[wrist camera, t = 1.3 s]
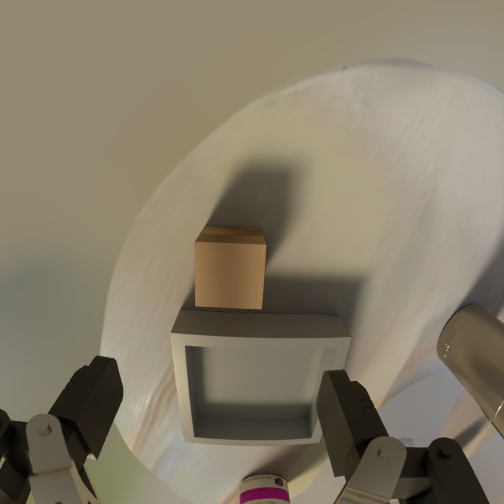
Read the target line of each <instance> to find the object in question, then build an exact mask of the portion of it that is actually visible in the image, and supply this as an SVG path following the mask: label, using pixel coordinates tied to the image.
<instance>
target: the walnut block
mask: <svg viewBox="0 0 504 504" xmlns="http://www.w3.org/2000/svg"><path fill="white" fill-rule="evenodd" d="M265 259H266V242H265V238H264V235H263V231H262V228H255V227H234V226H210V225H205V227H204V228H203V230H202V231H201V233H200V234H199V236H198V237H197V239H196V241H195V306H202V307H220V308H241V309H262V299H263V286H264V272H265Z"/></svg>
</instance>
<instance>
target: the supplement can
mask: <svg viewBox="0 0 504 504" xmlns="http://www.w3.org/2000/svg"><path fill="white" fill-rule="evenodd" d="M239 495H240V504H290V499H289V492H288V484H287V482H286V480H285V479H283V478H282V477H279V476H277V475H272V474H260V475H254V476H250V477H248V478H246V479H245V480H244V481H242V482H241V483H240V485H239Z"/></svg>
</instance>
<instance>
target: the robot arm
mask: <svg viewBox="0 0 504 504" xmlns="http://www.w3.org/2000/svg"><path fill="white" fill-rule="evenodd" d="M437 351H438V356H439V358H440V359H441V360H442V362H443V363H444V364H445V365H446V366H447V367H448V368H449V370H450V371H451V372H452V373H453V374H454V376H455V377H456V378H457V379H458V380H459V382H460V383H461V384H462V385H463V386H464V387H465V389H466V390H467V391H468V392H469V393H470V395H471V396H472V397H473V398H474V400H475V401H476V402H477V403H478V404H479V406H480V407H481V408H482V409H483V411H484V412H485V413H486V414H487V416H488V417H489V418H490V420H491V421H492V422H493V423H494V425H495V426H496V427H497V428H498V430H499V431H500V432H501V434H502V435H503V436H504V323H503V322H501V321H500V320H499V319H498V318H496V317H495V316H493V315H492V314H491V313H489V312H488V311H487V310H485V309H484V308H482V307H481V306H480V305H477V304H471V305H468V306H466V307H464V308H462V309H461V310H460V311H458V312H457V313H456V314H455V315H454V316H453V317H452V318H451V319H450V321H449V322H448V323H447V325H446V326H445V328H444V330H443V332H442V334H441V336H440V339H439V342H438V348H437ZM122 399H123V385H122V381H121V378H120V374H119V370H118V366H117V362H116V360H115V359H114V358H109V357H103V356H96V357H95V358H94V359H93V361H92V362H91V364H90V365H89V366H86V365H85V366H83V367H82V368H80V369H79V370H77V371H76V372H75V373H74V375H73V376H72V378H71V379H70V382H68V384H67V385H66V386H65V389H64V390H63V391H62V393H61V394H60V395H59V397H58V398H57V400H56V402H55V403H54V405H53V406H52V408H51V409H50V411H49V412H48V414H39V415H36V416H34V417H32V418H31V419H30V420H29V421H28V422H21V421H12V420H11V419H10V418H9V416H8V415H7V413H6V412H5V411H4V410H1V409H0V461H1V459H2V457H4V459H5V461H4V463H3V465H2V467H1V469H0V504H26V502H27V499H28V496H29V494H30V491H31V490H32V494H33V498H34V501H35V504H102V503H101V501H100V499H99V497H98V494H97V492H96V490H95V488H94V485H93V483H92V481H91V478H90V476H89V473H88V471H87V468H86V466H85V464H84V463H85V460H86V458H90V459H93V460H97V459H98V457H99V454H100V452H101V449H102V447H103V444H104V442H105V439H106V437H107V435H108V432H109V430H110V428H111V425H112V423H113V420H114V418H115V416H116V414H117V411H118V409H119V407H120V404H121V402H122ZM316 410H317V415H318V418H319V422H320V425H321V429H322V433H323V436H324V440H325V443H326V447H327V451H328V454H329V458H330V461H331V465H332V469H333V473H334V477H338V476H345V479H346V483H345V485H344V486H343V488H342V490H341V491H340V493H339V495H338V496H337V498H336V500H335V501H334V503H333V504H389V502H390V499H398V500H399V503H400V504H489V501H488V499H487V497H486V495H485V493H484V491H483V489H482V487H481V485H480V483H479V481H478V479H477V477H476V475H475V473H474V471H473V469H472V467H471V466H470V463H469V462H468V460H467V458H466V456H465V454H464V452H463V451H462V449H461V447H460V445H459V444H458V443H457V442H456V441H454V440H453V439H450V438H445V437H443V438H438V439H436V440H434V441H433V442H432V443H431V444H430V445H429V447H425V448H416V447H405V446H404V444H403V443H402V442H401V441H399V440H398V439H396V438H393V437H389V435H388V433H387V431H386V429H385V427H384V425H383V423H382V421H381V419H380V416H379V414H378V412H377V410H376V408H374V404H373V402H372V400H370V396H369V394H368V392H367V390H366V389H365V388H364V387H363V386H362V385H361V384H360V383H359V382H357V381H350V380H349V377H348V375H347V373H346V371H345V370H344V369H341V370H326V371H324V373H323V376H322V380H321V384H320V388H319V392H318V396H317V400H316Z"/></svg>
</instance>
